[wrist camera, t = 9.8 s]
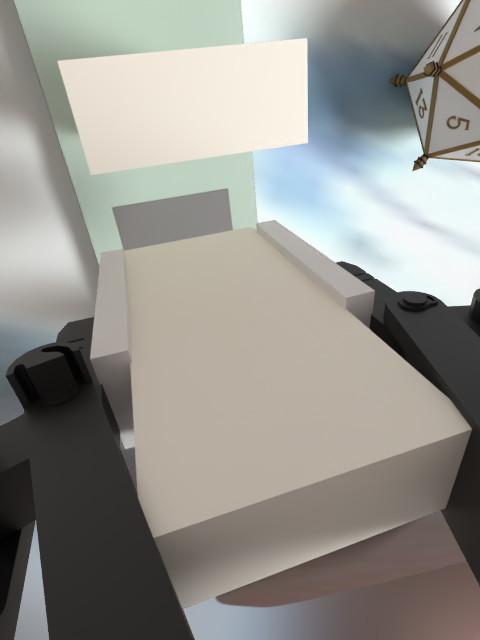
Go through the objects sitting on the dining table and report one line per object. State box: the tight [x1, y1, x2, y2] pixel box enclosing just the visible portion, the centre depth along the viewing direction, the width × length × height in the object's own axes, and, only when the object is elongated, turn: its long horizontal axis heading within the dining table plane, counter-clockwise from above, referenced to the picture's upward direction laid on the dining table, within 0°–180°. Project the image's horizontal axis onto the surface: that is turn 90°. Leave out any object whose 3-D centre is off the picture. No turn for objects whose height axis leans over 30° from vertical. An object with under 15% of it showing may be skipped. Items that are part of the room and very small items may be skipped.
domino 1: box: [57, 38, 308, 175], centre depth 12 cm, size 2×5×11 cm, turn 96°
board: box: [14, 0, 258, 266], centre depth 20 cm, size 30×9×1 cm, turn 6°
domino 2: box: [124, 227, 472, 609], centre depth 10 cm, size 2×5×11 cm, turn 95°
